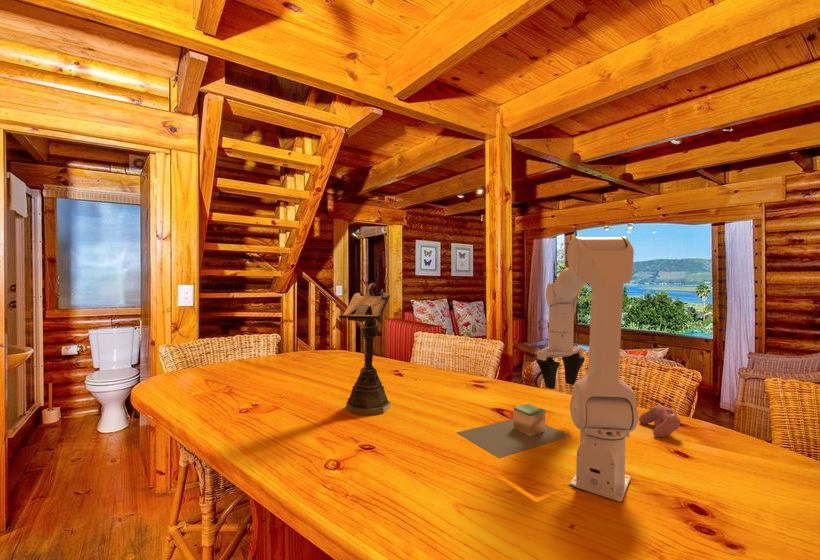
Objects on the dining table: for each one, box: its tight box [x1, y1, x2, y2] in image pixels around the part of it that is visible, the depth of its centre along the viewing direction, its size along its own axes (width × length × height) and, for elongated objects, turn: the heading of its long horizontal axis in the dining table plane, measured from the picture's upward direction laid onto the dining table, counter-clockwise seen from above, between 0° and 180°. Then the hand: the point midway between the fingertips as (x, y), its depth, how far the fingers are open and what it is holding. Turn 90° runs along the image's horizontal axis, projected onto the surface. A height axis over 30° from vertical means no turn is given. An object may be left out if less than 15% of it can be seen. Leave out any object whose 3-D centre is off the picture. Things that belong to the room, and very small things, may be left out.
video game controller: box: [638, 404, 681, 438], centre depth 91 cm, size 10×5×7 cm, turn 169°
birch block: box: [513, 403, 546, 436], centre depth 89 cm, size 5×5×5 cm
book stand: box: [336, 282, 391, 417], centre depth 102 cm, size 17×13×35 cm
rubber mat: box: [455, 418, 572, 459], centre depth 87 cm, size 22×14×1 cm, turn 120°
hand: (560, 386), depth 95 cm, fingers open, 7 cm apart
